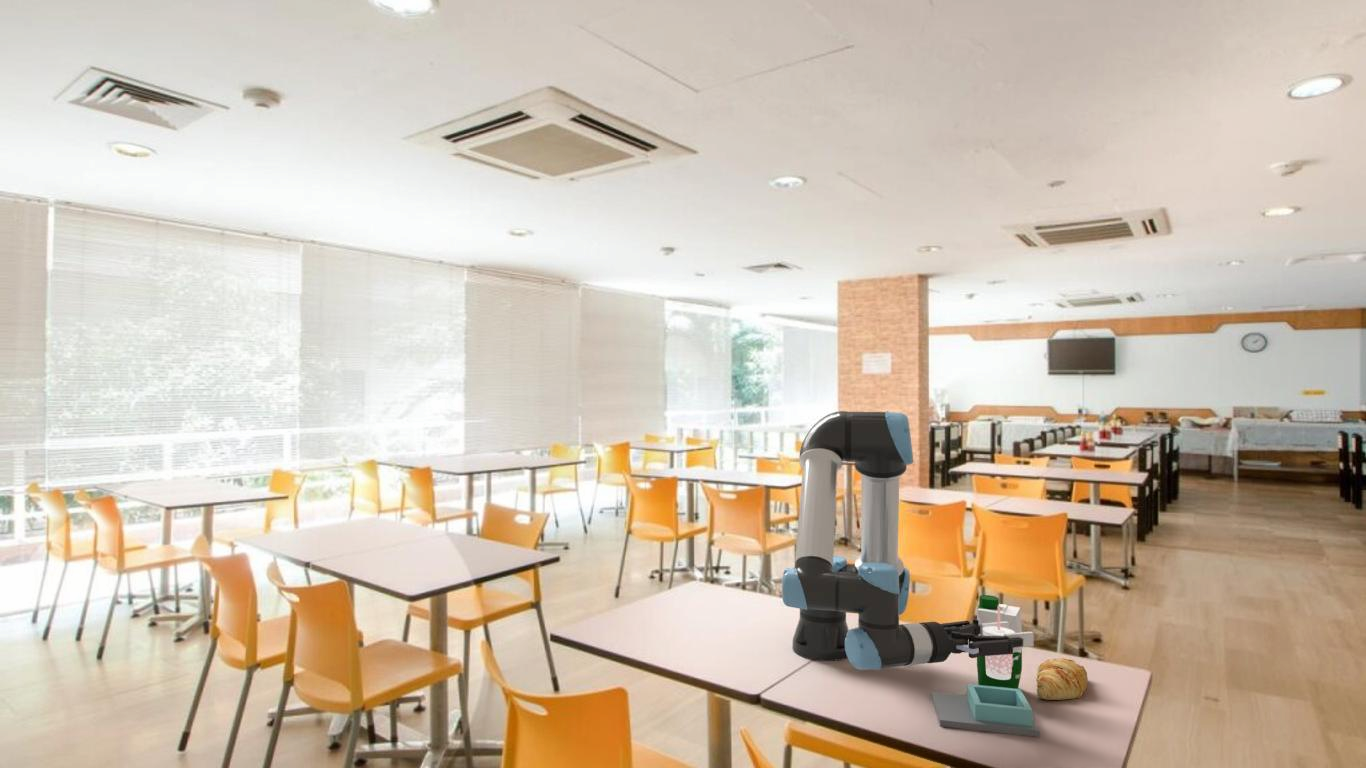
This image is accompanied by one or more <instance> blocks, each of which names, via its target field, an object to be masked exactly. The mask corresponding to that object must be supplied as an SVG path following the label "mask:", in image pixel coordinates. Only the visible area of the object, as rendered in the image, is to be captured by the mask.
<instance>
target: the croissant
mask: <svg viewBox="0 0 1366 768" xmlns="http://www.w3.org/2000/svg"><path fill="white" fill-rule="evenodd" d="M1036 676H1037V677H1036V680H1035V681H1036V682H1037V683H1036V691H1037V692H1036V694H1037V697H1039V699H1043V700H1048V701H1049V700H1051V701H1054V700H1055V701H1062V700H1070V699H1076V698H1077V699H1080V698H1081V697H1082V696H1083V694H1084V693H1085V691H1086V689H1087V686H1088V678H1089V677H1088V672H1087V670H1086V669H1085V667H1084V666H1083V665H1080V664H1079V663H1077V662H1075V660H1073V659H1067V658H1052V659H1047V660H1045V661H1043V662H1042V663H1041V664H1040V665H1039V666H1038V667H1037V669H1036Z"/></svg>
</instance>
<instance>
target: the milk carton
mask: <svg viewBox="0 0 1366 768" xmlns="http://www.w3.org/2000/svg"><path fill="white" fill-rule="evenodd" d="M978 597H979V600H978V601H979V602H978V603H979V604H978V607H977V610H976V613H977V614H976V620H979V625H980V624H982V623H993V622H997V620H998V605H999V606H1000V622H1004V621H1006V622H1009V629H1011V630H1013V631H1014V632H1015V633H1020V632H1023V627H1022V615H1021V614H1022V613H1021V607H1019V606H1012V605H1008V604H1005V603H1003V604H1002V603H1000V602H999V600H1000V599H999V597H997V596H994V595H988V594H987V595H986V594H983V595H982V594H981V595H979V596H978ZM979 636H980V634H979ZM1022 670H1023V647H1022V648H1013V656H1012V670H1011V678H1010V679H1008V680H999V679H994V678H991V677H989V676H987V675H986V662H985V656H980V657H976V671H977V680H978V681H977V683H978V684H977V685H983V686H993V687H1004V688H1014V689H1019V686H1020V682H1021V681H1020V680H1021V676H1022Z"/></svg>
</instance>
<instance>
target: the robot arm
mask: <svg viewBox="0 0 1366 768" xmlns="http://www.w3.org/2000/svg"><path fill="white" fill-rule="evenodd" d="M910 428H911V427H910V423H909V417H908V416H907V415H906V414H905V413H903V412H894V411H893V412H891V411H887V410H886V411H846V410H842V411H834V412H831V413H829V414H827V415H825V416H823V417H821V418H820V419H819V420H818V421H816V423H814V425H813V426H812V427H811V428H810V429H809V431H807V434H806V435H805V437H804V439H803V441H802V444H801V446H800V450H799V457H798V463H799V466H800V467H801V468H802V477H801V478H802V479H801V485H800V486H801V487H800V488H801V489H800V499H799V513H798V523H797V525H798V526H797V534H796V535H797V538H796V546H795V549H796V550H795V561H794V563H795V564H794V566H793V567H789V568H785V569H784V570H783V572H782V573H783V575H782V580H781V581H782V582H781V596H782V597H781V598H782V602H783V604H784V605H785V606H786V607H789V608H795V609H799V620H798V623H797V625H796V628H795V632H794V635H793V638H792V650H793V652H795V653H796V654H797V655H799V656H801V657H804V658H807V659H812V660H818V661H841V660H845V659H847V660H848V661H849V663H850V664H851V665H852V666H853V667H854V668H855V669H857V670H860V671H861V670H863V671H864V670H875V671H879V670H883V669H890V668H896V667H908V668H912V667H913V666H915V665H924V664H938V663H943V662H945V661H946V660H948V658H949V656H950V655H951V653H952V654H954V655H955V654H962V653H968V657H969V658H970V659H977V657H980V656H992V655H1005V654H1007V655H1008V654H1013V648H1022V649H1023V648H1030V647H1035V645H1034V635H1035V634H1034V632H1032V631H1022V632H1020V633H1010V634H1004V636H984V634H983V630H982V628H983V627H987V626H997V622H993V623H982V624H980V625H979V620H977V618H976V619H972V623H971V621H969V620H962V621H954V622H953V621H952V622H945V623H939V622H937V621H927V622H911V623H902V624H901V623H900V621H899V620H900V615H903V614H904V613H905V612H906V610H907V606H908V603H909V601H908V600H909V595H910V585H911V584H910V583H911V579H910V578H911V573H910V570H909V569H908V568H907V567H905V565H904V562H903V560H902V559H901V558H900V557H899V556H898V554H899V553H898V552H899V551H898V550H899V513H900V512H899V511H900V509H899V508H900V477H901V476H903V475H904V474H905V473H906V471H907V467H908V466H909V465H911V464H913V463H914V453H913V445H912V438H911V430H910ZM843 462H846V463H854V469H855V471H856V472H857V473H858V474H860V475H861V484H860V487H861V488H860V489H861V493H860V494H861V497H860V499H861V507H860V509H861V514H860V515H861V521H860V522H861V524H860V525H861V528H860V529H861V531H860V533H861V534H860V535H861V539H860V541H861V544H860V545H861V554H859V555H858V556H857V557H856V559H855V561H854V564H853V563H848V561H847V559H846V557H843V556H839V555H838V556H837V555H834V551H835V550H834V548H835V546H834V545H835V528H836V527H835V525H836V509H837V508H836V505H837V486H838V482H837V481H838V472H840V470H841V469H842V467H843ZM847 613H848V614H849V613H850V614H858V619H857V620H858V625H857V627H855V628H849V627H848V623H847ZM1000 627H1004V628H1008V629H1009V622H1006V621H1004V622H1000ZM979 634H980V636H979Z"/></svg>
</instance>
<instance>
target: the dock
mask: <svg viewBox="0 0 1366 768" xmlns="http://www.w3.org/2000/svg"><path fill="white" fill-rule="evenodd" d="M931 698H932V701H933V702H932V703H933V705H934V710H935V713H936V717H937V720H938V725H939V726H940V727H944V726H948V727H947V728H953V727H955V728H956V729H965V730H971V731H980V732H989V733H991V732H992V733H999V734H1008V735H1017V736H1026V737H1027V736H1028V737H1035V738H1040V737H1041V733H1040V728H1039V727H1038V726H1037V723H1036V722H1035V720H1034V718H1033V717H1034V715H1033V714H1034V712H1033V711H1034V709H1033V708H1032V707H1031V705H1030V704H1029V701H1028V699H1027V698H1026V696H1025V695H1024V693H1023V692H1022V690H1021V688H1018V689H1014V688H1004V687H993V686H983V685H979V684H972V683H971V684H970V683H967V684H966V694H963V693H962V694H961V693H952V692H951V693H950V692H941V691H931ZM955 728H954V729H955Z"/></svg>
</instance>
